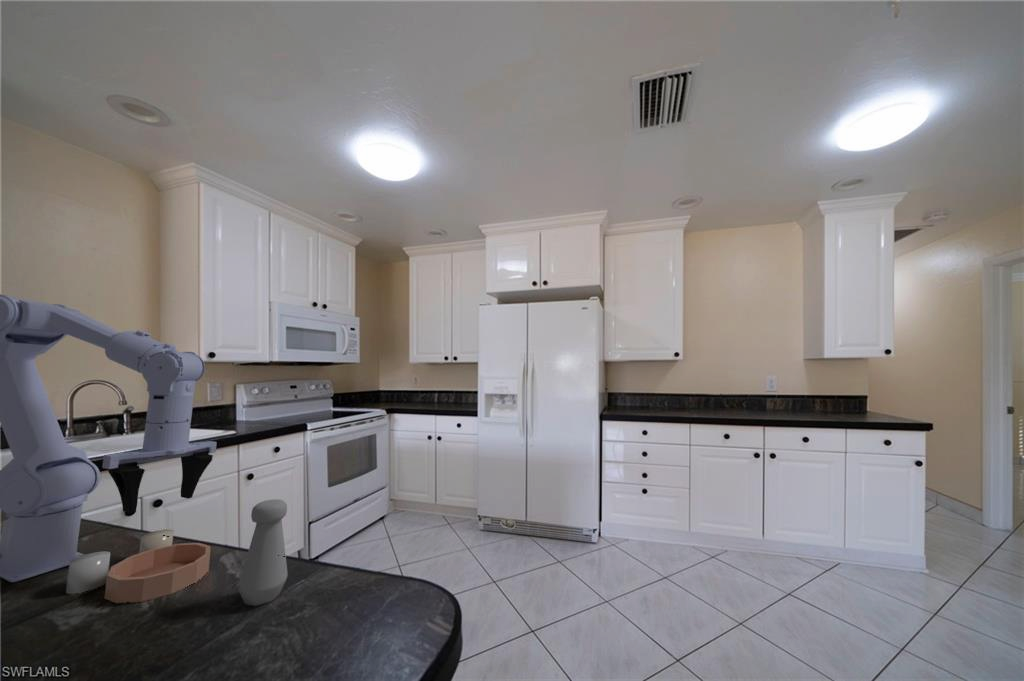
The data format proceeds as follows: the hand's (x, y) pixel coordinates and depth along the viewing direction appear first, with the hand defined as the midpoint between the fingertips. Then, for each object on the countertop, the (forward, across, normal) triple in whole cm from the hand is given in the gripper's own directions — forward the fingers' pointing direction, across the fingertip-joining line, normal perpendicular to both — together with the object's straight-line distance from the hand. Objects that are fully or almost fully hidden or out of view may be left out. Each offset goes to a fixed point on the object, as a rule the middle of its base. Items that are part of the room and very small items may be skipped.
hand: (159, 504), depth 62 cm
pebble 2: (+10, +1, +2) cm, 10 cm away
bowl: (+9, -2, -8) cm, 12 cm away
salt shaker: (+10, +1, -25) cm, 27 cm away
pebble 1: (+10, -8, 0) cm, 12 cm away
